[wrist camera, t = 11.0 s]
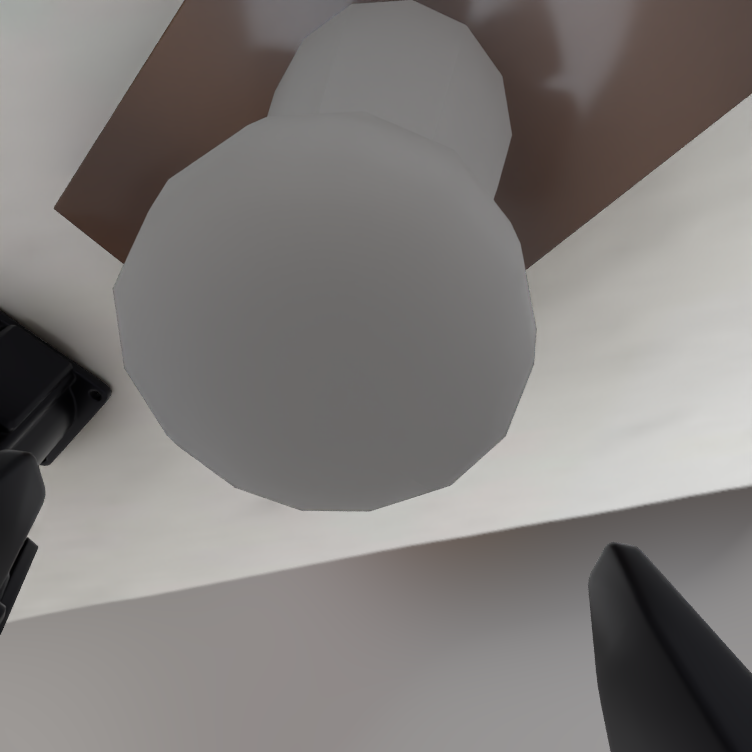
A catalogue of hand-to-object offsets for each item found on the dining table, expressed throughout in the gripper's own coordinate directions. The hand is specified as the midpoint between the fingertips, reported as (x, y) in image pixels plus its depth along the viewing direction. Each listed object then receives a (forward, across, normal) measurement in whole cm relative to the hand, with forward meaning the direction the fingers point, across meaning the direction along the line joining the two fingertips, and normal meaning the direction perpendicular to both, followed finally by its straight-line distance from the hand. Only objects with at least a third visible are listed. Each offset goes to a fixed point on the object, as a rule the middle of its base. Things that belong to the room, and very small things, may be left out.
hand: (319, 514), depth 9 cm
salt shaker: (+11, 0, -4) cm, 12 cm away
